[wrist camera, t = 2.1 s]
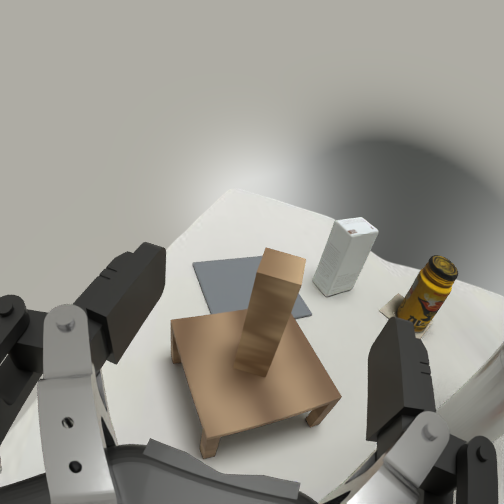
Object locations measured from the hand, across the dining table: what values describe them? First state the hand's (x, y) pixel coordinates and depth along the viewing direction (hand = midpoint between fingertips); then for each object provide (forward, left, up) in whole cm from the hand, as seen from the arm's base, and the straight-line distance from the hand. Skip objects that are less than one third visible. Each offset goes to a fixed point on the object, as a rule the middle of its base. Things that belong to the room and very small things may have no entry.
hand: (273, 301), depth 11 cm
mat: (-13, -25, -25) cm, 38 cm away
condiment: (-37, -13, -25) cm, 47 cm away
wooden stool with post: (-6, -9, -25) cm, 28 cm away
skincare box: (-27, -23, -25) cm, 44 cm away
